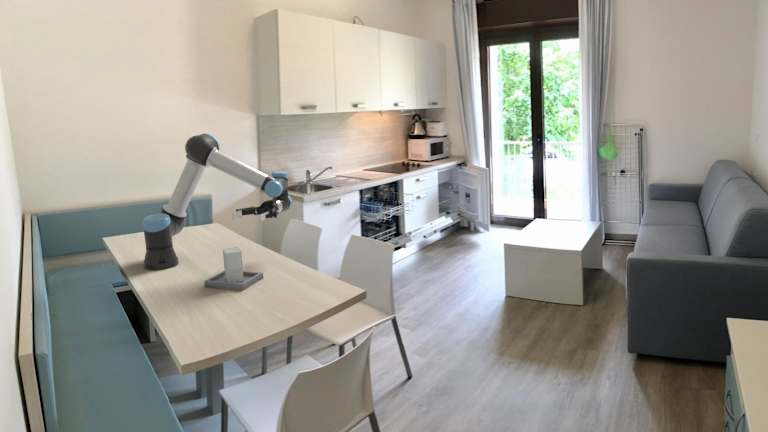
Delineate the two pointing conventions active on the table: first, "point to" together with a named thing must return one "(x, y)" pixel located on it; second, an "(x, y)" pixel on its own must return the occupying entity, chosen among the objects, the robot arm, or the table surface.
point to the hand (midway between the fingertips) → (246, 217)
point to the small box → (233, 265)
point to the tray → (221, 282)
